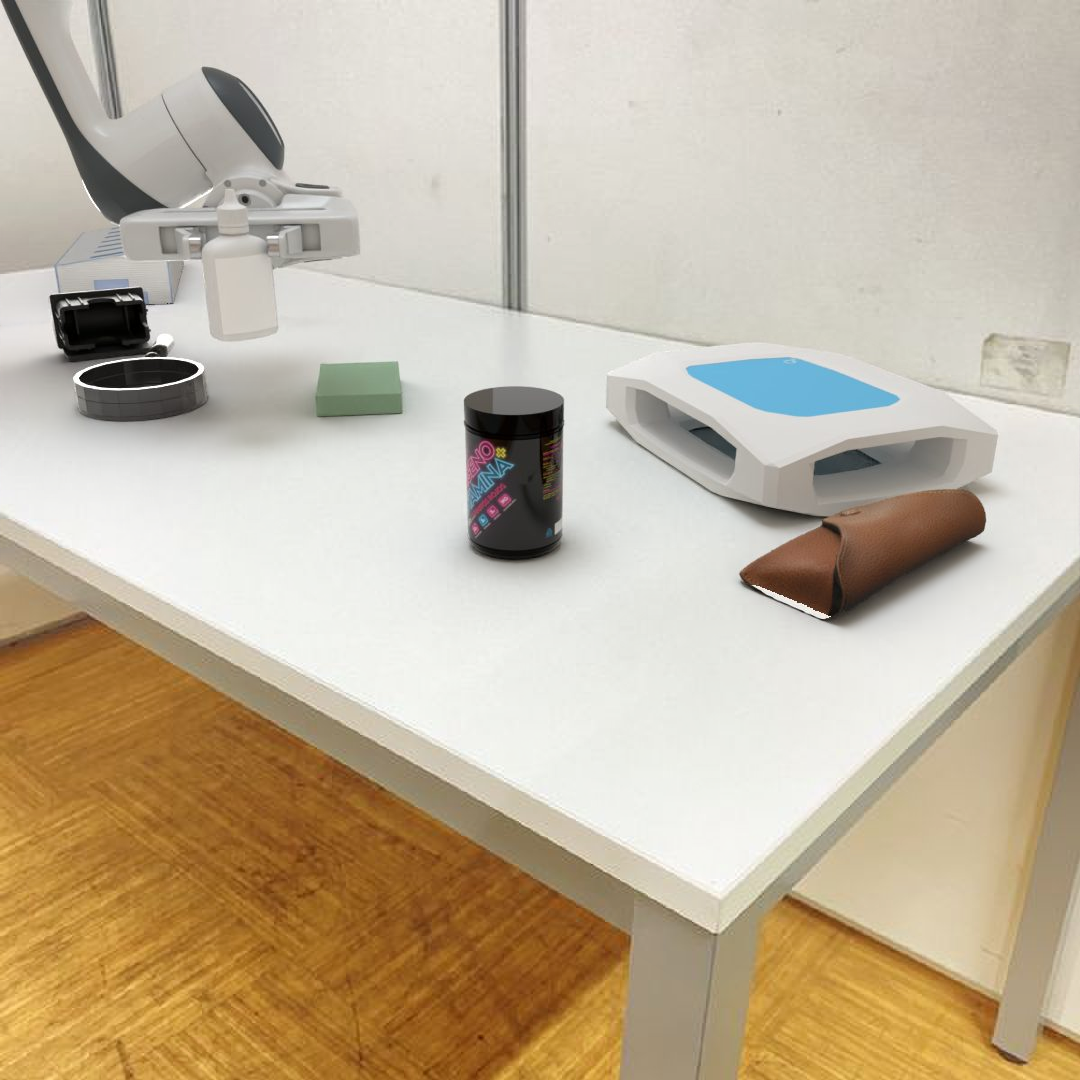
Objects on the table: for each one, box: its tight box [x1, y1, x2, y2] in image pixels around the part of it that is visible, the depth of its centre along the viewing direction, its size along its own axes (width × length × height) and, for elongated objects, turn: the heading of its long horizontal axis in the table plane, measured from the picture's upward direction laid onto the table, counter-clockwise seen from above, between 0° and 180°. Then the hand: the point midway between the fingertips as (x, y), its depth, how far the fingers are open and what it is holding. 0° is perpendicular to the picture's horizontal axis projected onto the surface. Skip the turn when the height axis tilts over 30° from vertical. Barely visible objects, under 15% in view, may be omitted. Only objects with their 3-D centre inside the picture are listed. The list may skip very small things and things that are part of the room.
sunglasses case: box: [738, 488, 987, 620], centre depth 75 cm, size 18×7×7 cm
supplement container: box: [463, 385, 565, 560], centre depth 77 cm, size 7×7×10 cm
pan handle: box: [143, 333, 175, 358], centre depth 120 cm, size 2×10×2 cm, turn 8°
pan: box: [72, 357, 208, 422], centre depth 110 cm, size 12×12×3 cm
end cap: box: [48, 287, 152, 362], centre depth 128 cm, size 10×7×7 cm
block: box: [315, 361, 403, 417], centre depth 112 cm, size 8×12×2 cm, turn 8°
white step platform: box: [605, 341, 999, 517], centre depth 96 cm, size 21×28×6 cm
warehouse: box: [53, 226, 185, 305], centre depth 164 cm, size 30×14×8 cm, turn 14°
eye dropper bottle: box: [201, 189, 279, 343], centre depth 94 cm, size 4×6×12 cm
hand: (235, 247), depth 92 cm, fingers closed on eye dropper bottle, 5 cm apart
